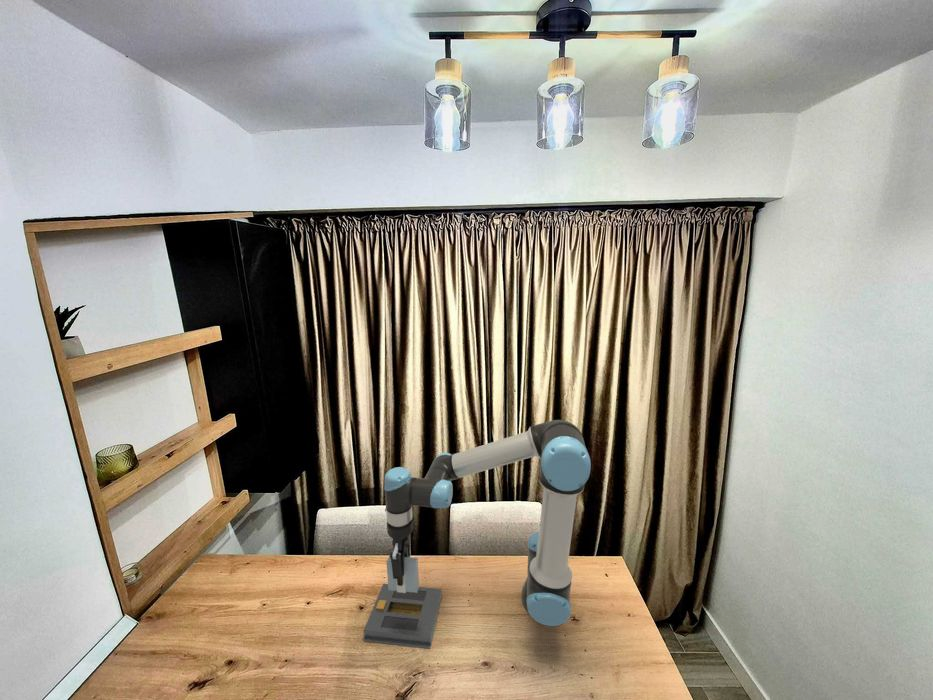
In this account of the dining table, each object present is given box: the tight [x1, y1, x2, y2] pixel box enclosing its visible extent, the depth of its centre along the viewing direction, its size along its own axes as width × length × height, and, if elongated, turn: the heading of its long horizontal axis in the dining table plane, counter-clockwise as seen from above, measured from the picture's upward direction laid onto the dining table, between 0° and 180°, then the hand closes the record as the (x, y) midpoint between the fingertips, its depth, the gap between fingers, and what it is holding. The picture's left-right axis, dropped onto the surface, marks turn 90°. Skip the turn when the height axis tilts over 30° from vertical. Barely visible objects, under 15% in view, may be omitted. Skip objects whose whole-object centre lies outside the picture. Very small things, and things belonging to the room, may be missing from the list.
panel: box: [386, 555, 420, 593], centre depth 112 cm, size 9×2×10 cm, turn 83°
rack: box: [363, 583, 443, 650], centre depth 115 cm, size 20×18×4 cm
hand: (403, 587), depth 113 cm, fingers closed on panel, 2 cm apart
